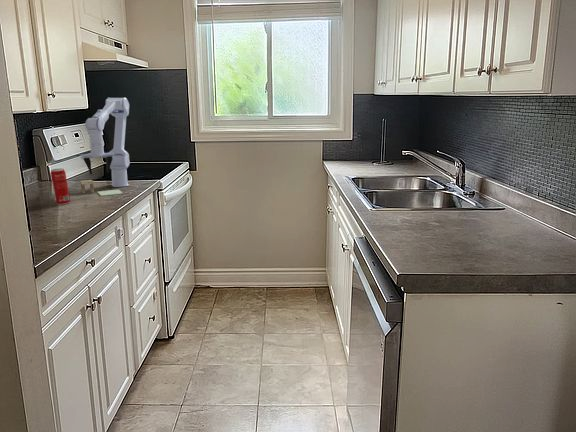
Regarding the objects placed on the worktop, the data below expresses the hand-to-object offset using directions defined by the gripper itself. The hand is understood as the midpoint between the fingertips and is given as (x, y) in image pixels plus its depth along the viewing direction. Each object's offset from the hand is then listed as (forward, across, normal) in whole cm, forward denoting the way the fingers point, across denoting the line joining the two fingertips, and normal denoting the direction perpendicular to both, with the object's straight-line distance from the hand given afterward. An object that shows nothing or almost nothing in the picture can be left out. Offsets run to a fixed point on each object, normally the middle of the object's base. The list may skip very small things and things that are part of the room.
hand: (99, 173), depth 233 cm
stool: (+10, -5, +6) cm, 12 cm away
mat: (+10, +4, -2) cm, 10 cm away
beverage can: (+10, -19, -14) cm, 25 cm away
